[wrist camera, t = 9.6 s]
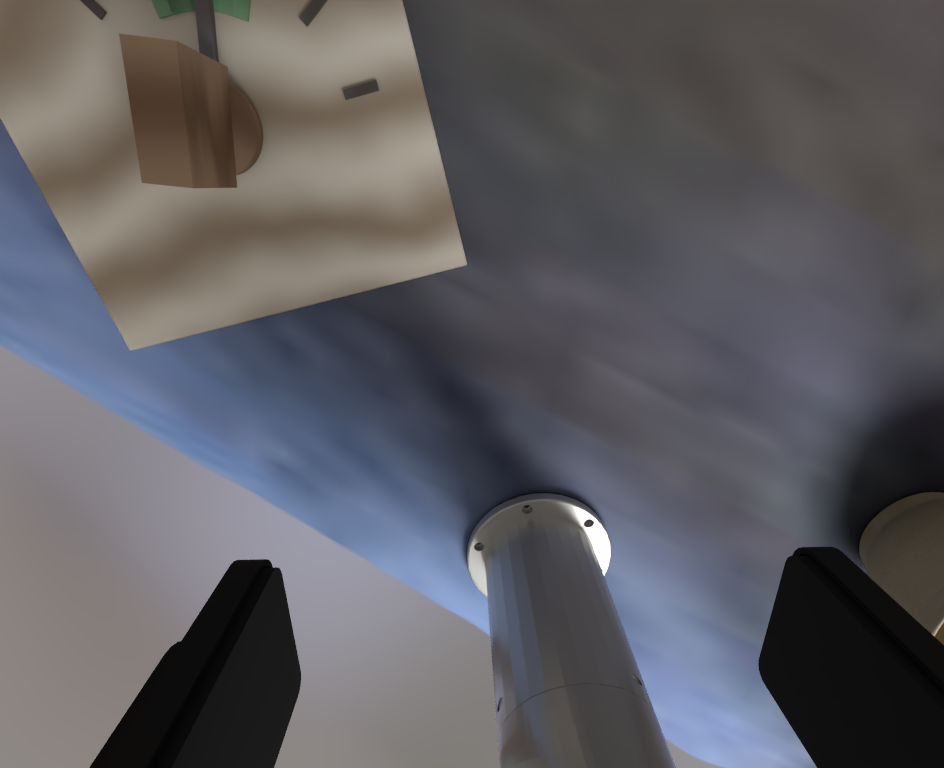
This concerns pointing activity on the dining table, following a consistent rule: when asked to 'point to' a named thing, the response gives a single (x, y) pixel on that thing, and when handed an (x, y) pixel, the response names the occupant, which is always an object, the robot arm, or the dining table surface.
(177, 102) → the dial pointer knob
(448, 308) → the dining table surface
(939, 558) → the planter bowl
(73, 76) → the dial plate
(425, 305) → the dining table surface
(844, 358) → the dining table surface
